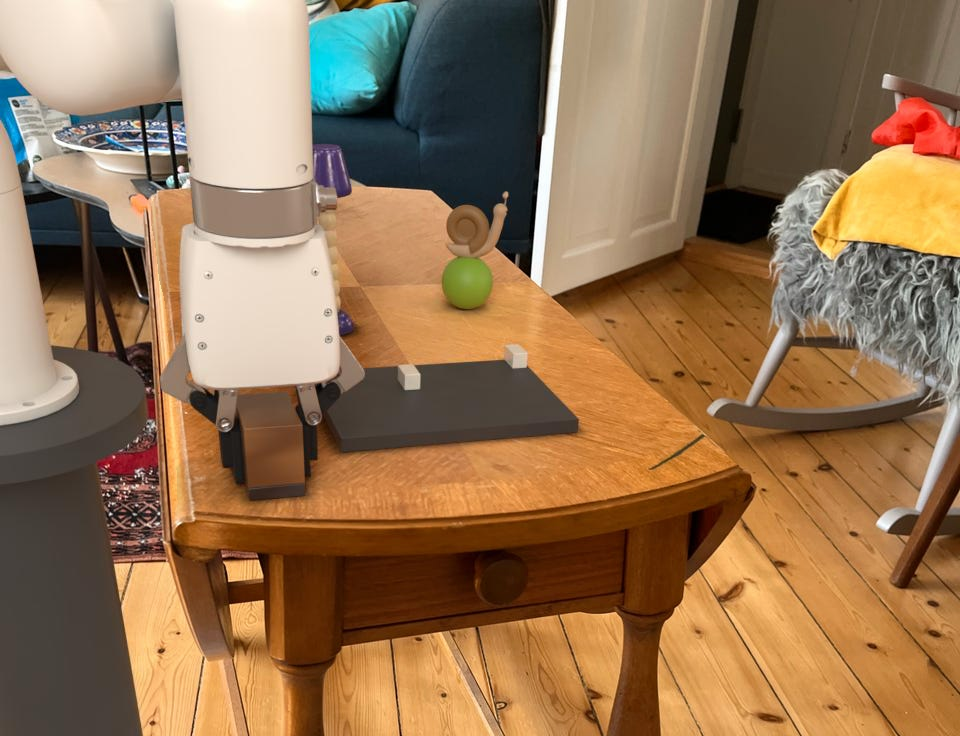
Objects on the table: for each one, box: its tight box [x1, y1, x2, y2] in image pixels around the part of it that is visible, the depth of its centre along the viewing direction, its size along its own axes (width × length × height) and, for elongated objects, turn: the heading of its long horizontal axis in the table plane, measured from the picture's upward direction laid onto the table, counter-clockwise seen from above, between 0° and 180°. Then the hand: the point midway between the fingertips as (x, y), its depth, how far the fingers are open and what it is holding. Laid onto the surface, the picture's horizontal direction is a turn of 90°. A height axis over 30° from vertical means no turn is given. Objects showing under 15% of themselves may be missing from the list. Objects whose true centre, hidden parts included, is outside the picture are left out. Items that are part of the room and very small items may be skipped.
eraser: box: [235, 391, 306, 502], centre depth 74 cm, size 4×6×6 cm, turn 18°
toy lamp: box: [312, 143, 355, 336], centre depth 98 cm, size 5×5×17 cm
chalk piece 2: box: [503, 343, 529, 369], centre depth 94 cm, size 1×2×1 cm, turn 18°
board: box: [314, 359, 580, 453], centre depth 88 cm, size 20×14×1 cm
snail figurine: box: [441, 191, 509, 310], centre depth 107 cm, size 5×6×12 cm
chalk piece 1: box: [397, 363, 421, 390], centre depth 89 cm, size 1×2×1 cm, turn 18°
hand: (270, 469), depth 75 cm, fingers closed on eraser, 4 cm apart
